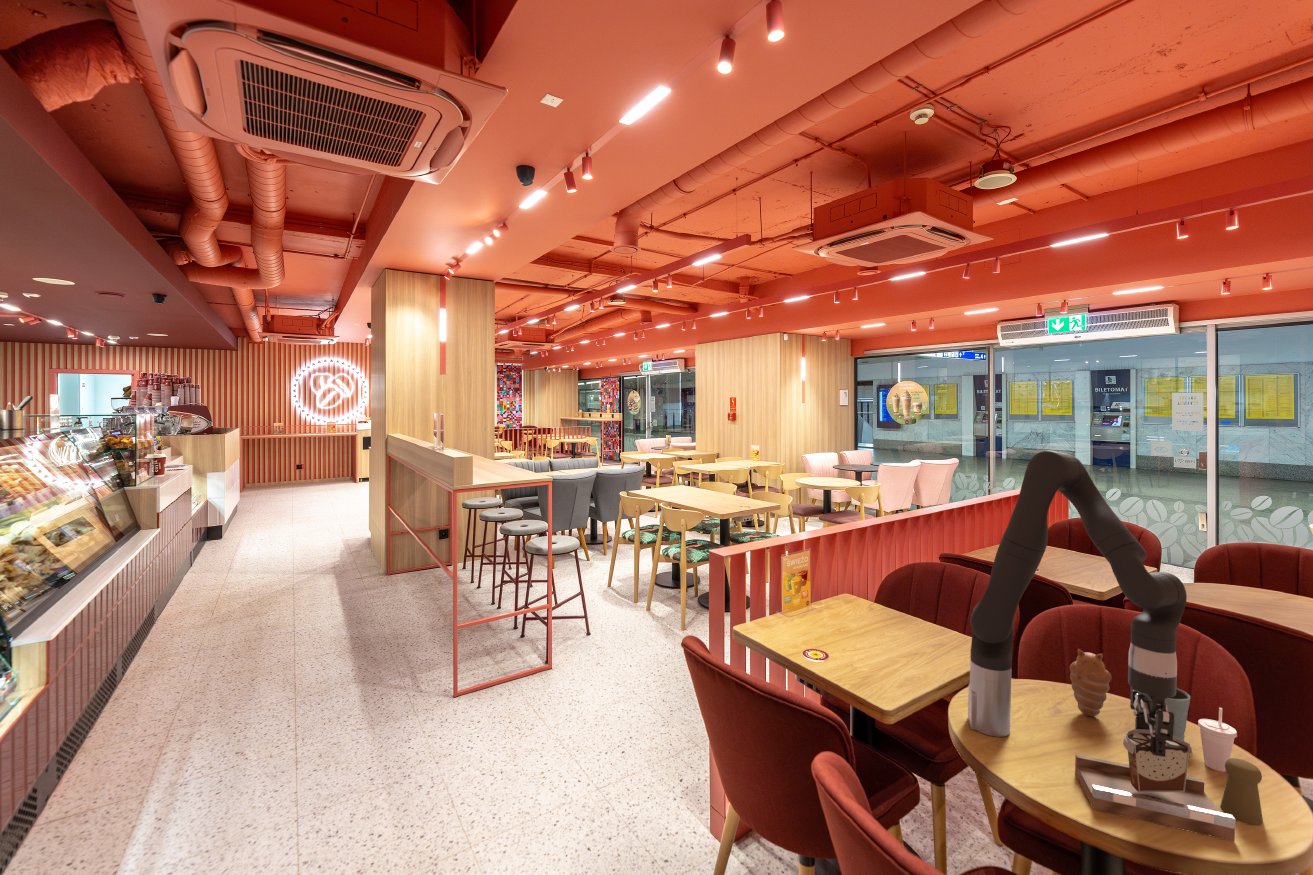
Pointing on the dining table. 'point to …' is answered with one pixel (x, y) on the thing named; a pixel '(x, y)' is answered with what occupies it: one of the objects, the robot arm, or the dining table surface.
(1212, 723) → the smoothie
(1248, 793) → the cork
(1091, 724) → the dining table surface
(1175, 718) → the grey blue pot
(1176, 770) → the food container
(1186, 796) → the wooden tray
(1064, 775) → the dining table surface
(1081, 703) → the cat ice cream
